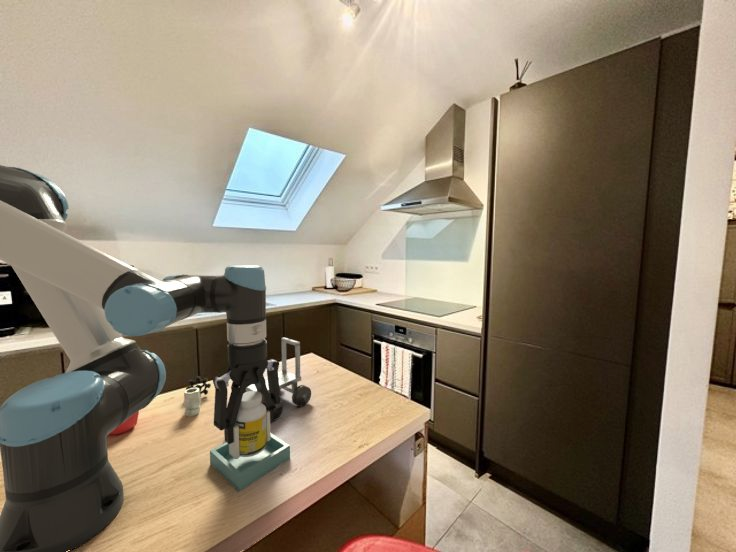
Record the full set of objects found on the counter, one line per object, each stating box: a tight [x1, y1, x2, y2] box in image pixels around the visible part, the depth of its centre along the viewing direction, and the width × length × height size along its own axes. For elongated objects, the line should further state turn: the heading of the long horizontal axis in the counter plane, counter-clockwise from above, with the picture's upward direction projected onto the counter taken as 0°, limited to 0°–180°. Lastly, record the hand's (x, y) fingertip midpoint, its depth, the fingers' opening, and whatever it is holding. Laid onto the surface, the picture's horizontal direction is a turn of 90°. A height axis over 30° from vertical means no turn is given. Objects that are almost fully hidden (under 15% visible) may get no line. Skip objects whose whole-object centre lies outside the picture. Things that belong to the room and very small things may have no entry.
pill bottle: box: [235, 391, 267, 457], centre depth 64 cm, size 6×6×12 cm
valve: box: [182, 375, 212, 418], centre depth 87 cm, size 7×7×12 cm
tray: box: [209, 432, 291, 492], centre depth 65 cm, size 12×12×3 cm
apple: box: [108, 410, 140, 436], centre depth 75 cm, size 8×8×8 cm
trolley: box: [245, 336, 312, 423], centre depth 87 cm, size 16×15×18 cm
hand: (250, 446), depth 64 cm, fingers closed on pill bottle, 6 cm apart
